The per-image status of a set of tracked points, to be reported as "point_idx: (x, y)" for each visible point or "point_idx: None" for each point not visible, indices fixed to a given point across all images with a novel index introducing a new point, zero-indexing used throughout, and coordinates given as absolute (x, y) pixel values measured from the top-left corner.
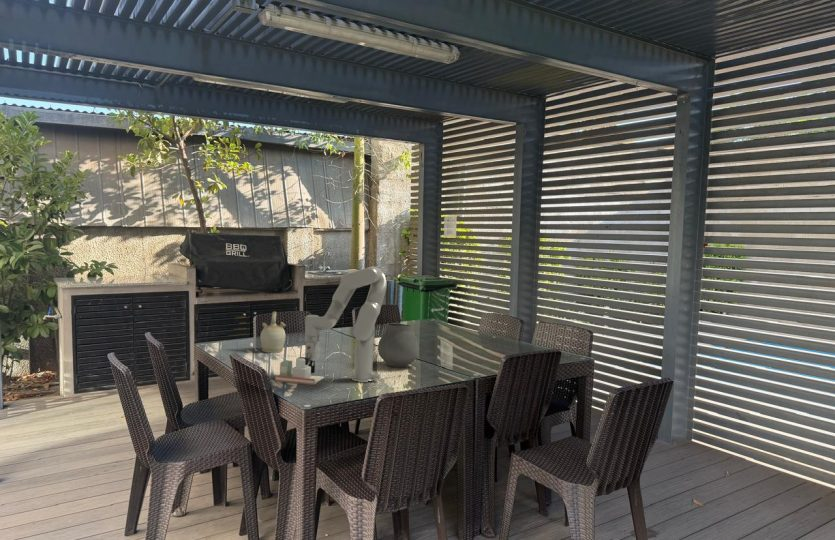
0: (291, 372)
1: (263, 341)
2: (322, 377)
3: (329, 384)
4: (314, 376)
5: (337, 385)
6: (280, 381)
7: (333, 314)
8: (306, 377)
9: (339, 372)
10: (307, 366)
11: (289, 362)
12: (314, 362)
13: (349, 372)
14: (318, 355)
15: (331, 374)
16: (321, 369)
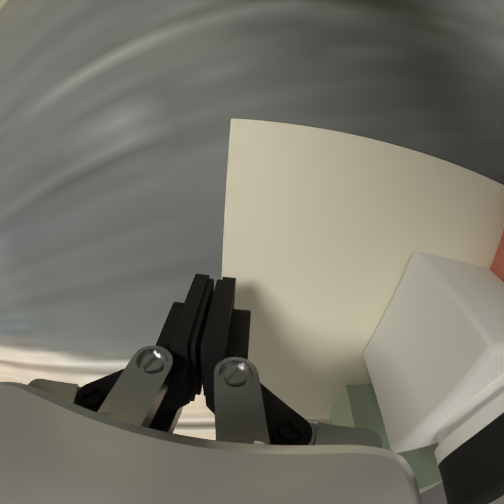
0: (359, 420)
1: None
2: (270, 138)
3: (486, 58)
4: (250, 244)
5: (481, 3)
6: None
7: None
8: (497, 286)
9: (16, 74)
10: (491, 379)
11: (422, 487)
12: (161, 388)
13: (12, 16)
14: (19, 452)
15: (83, 96)
16: (7, 247)
